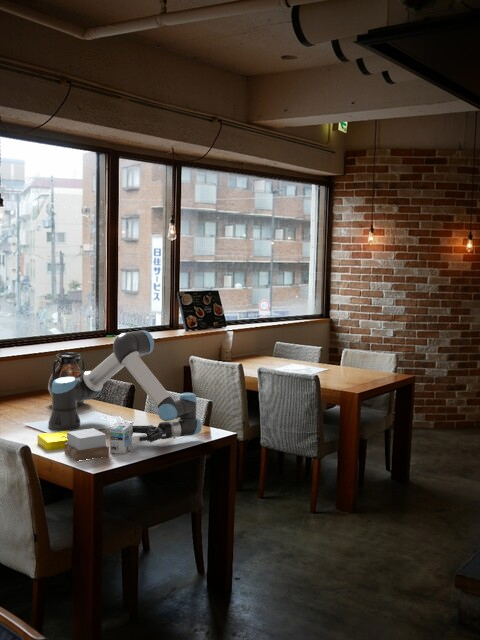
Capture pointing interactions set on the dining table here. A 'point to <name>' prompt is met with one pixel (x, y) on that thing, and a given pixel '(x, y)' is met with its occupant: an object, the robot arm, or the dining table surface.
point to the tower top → (86, 439)
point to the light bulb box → (121, 438)
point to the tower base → (86, 452)
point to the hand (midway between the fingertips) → (124, 435)
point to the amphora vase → (66, 369)
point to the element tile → (53, 440)
